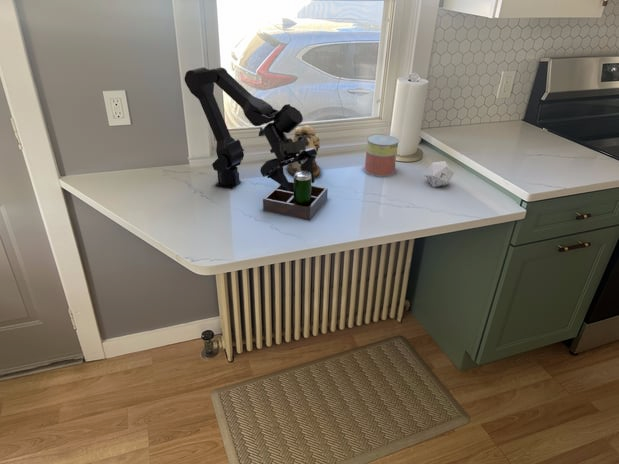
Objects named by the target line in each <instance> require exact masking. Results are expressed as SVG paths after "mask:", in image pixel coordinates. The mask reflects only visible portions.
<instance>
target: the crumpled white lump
mask: <svg viewBox="0 0 619 464" xmlns="http://www.w3.org/2000/svg"><path fill="white" fill-rule="evenodd" d="M454 174H455V172H454V170H453V169H452V167H450V165H449V164H448V163H447V162H446V160H443V161H436V162H431V164H430V165H429V167H428V169H427V170H426V172H425V174H424V177H425V178H426V179H427V181H428V182H429V184H430V185H431V186H432V187H433V188H437V187H444V186H447V185H448V183H449V182H450V180H451V179H452V177H453V176H454Z"/></svg>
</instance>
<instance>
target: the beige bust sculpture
mask: <svg viewBox="0 0 619 464" xmlns="http://www.w3.org/2000/svg"><path fill="white" fill-rule="evenodd" d="M304 135H305V136H306V138H307V139H308V142H309V145H308V146H306V149H309V148H314V149H315V150H316V152H317V153H318V152H319V149H320V147H321V146H320V136H319V135H318V134H317V133H316V130H315V128H314V127H313V126H311V125H307V124H306V125H302V126H297V127H296V128H294V137H293V139H292V141H293V142H294V141H298V137H300V136H304ZM302 151H303V150H300V152H299V153H298V154H297V156H298V155H299V154H300V153H301V152H302ZM316 159H317V155H316V156H315V159H314V160H313V164H312V166H313V175H314V180H315V179H318V178H319V177H320V176H321V168H320V166H319V165H318V164H317V161H316ZM291 161H293V160H291ZM300 166H301V164H299V163H298V162H296V163H293V164H290V165H287V166H286V167H287V172H288V173H289V175H291V176H292V177H293V178H294V173H295V172H297V171H302V169H301V168H300Z"/></svg>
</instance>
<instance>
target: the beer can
mask: <svg viewBox="0 0 619 464" xmlns="http://www.w3.org/2000/svg"><path fill="white" fill-rule="evenodd" d="M293 182H294V202H293V204H296V205H301V206H306V207H309V206H310V205H311V185H313V183H312V177H311V173H310V172H308V171H297V172H295V173H294V177H293Z"/></svg>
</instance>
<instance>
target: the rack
mask: <svg viewBox="0 0 619 464" xmlns="http://www.w3.org/2000/svg"><path fill="white" fill-rule="evenodd" d="M288 182H289V184H290V187H291V191H288V190H287V189H285V188H284V187H283V186H281V185H280V184H279V183H278V184H277V186H275V187H274V188H273V189H272V190H271V191H270V192H269V193H268V194H266V196H264V197H263V198H262V211H263V212H267V213H271V214H278V215H281V216H287V217H291V218H297V219H301V220H305V221H311V220H312V219H313V218H314V216H315V215H316V214H317V213H318V212H319V210H320V209H321V208H322V207H323V206H324V204H325V203H326V201H327V200H328V193H329V192H328V191H329V190H328V189H329V188H328V187H324V186H318V185H313V184H311V205H310V206H309V207H306V206H301V205H296V204H293V202H294V181H292V180H288Z"/></svg>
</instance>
